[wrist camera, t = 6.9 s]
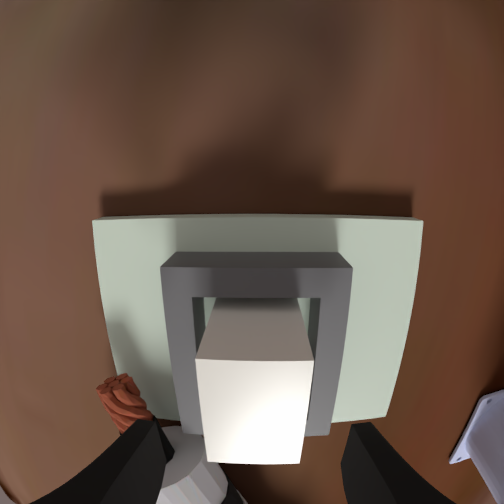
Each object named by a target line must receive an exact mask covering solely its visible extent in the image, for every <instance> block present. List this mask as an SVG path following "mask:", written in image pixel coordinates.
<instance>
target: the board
mask: <svg viewBox="0 0 504 504" xmlns="http://www.w3.org/2000/svg"><path fill="white" fill-rule="evenodd" d="M92 223H93V234H94V245H95V254H96V262H97V270H98V277H99V284H100V291H101V297H102V304H103V309H104V315H105V320H106V326H107V331H108V336H109V341H110V345H111V350H112V354H113V359H114V363H115V367H116V371H117V375H120V374H123V373H127V374H128V376H129V377H132V378H133V381H134V383H135V384H136V386H137V387H138V389H139V390H140V397H141V398H142V399H143V400H145V402H146V404H147V410H149V411H151V413H152V414H153V415H155V417H156V418H160V419H168V420H177V421H181V426H182V431H183V433H187V434H198V435H204V432H203V425H202V417H201V409H200V400H199V391H198V382H197V372H196V362H195V358H196V355H197V352H198V349H199V346H200V343H201V340H202V337H203V335H204V332H205V329H206V326H207V323H208V320H209V317H210V314H211V312H212V309H213V306H214V303H215V300H216V298H297V299H298V302H299V306H300V310H301V313H302V317H303V321H304V324H305V328H306V332H307V336H308V339H309V343H310V347H311V351H312V355H313V358H314V366H313V374H312V382H311V390H310V398H309V405H308V412H307V419H306V426H305V433H304V436H318V435H329V431H330V426H331V423H332V422H343V421H353V420H362V419H370V418H378V417H385V416H386V413H387V410H388V407H389V404H390V400H391V397H392V393H393V390H394V386H395V383H396V379H397V375H398V371H399V367H400V363H401V359H402V355H403V351H404V346H405V342H406V337H407V332H408V327H409V322H410V317H411V312H412V306H413V300H414V294H415V288H416V281H417V274H418V267H419V259H420V250H421V240H422V230H423V221H422V220H419V219H416V218H413V217H391V216H362V215H322V214H183V215H143V216H114V217H101V218H98V219H95V220H92Z"/></svg>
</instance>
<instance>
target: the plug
mask: <svg viewBox="0 0 504 504" xmlns="http://www.w3.org/2000/svg"><path fill="white" fill-rule="evenodd" d="M195 362H196V372H197V382H198V391H199V400H200V409H201V417H202V425H203V432H204V440H205V447H206V454H207V461H208V462H219V463H237V464H297V463H300V457H301V451H302V445H303V439H304V433H305V426H306V419H307V412H308V405H309V398H310V390H311V382H312V374H313V366H314V358H313V355H312V351H311V347H310V343H309V339H308V336H307V332H306V328H305V324H304V321H303V317H302V313H301V310H300V306H299V302H298V299H297V298H216V300H215V303H214V306H213V309H212V312H211V314H210V317H209V320H208V323H207V326H206V329H205V332H204V335H203V337H202V340H201V343H200V346H199V349H198V352H197V355H196V358H195Z"/></svg>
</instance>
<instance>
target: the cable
mask: <svg viewBox="0 0 504 504" xmlns="http://www.w3.org/2000/svg"><path fill="white" fill-rule="evenodd" d="M104 382H105V383H104V384H102V385H99V386H98V387H97V388H96V391H97V393H98V395H99V397H100V399H101V401H102V403H103V405H104V407H105V409H106V411H107V412H108V413H109V414H110V416H111V418H112V420H113V421H114V423H115V424H116V425H117V427H118V429H119V432H120V435H122V434H123V433H124V432H125V431H126V430H127V429H128V428H129V427H130V426H131V425H132V424H133V423H134V422H135V421H136V420H137V419H142V420H149V421H156V424H157V428H158V432H159V436H160V439H161V443H162V447H163V450H164V454H165V457H166V460H167V461H166V467H165V472H164V477H163V482H162V487H161V490H160V493H159V496H158V499H157V502H156V504H248V503H247V502H246V500H245V499H244V498H243V496H242V495H241V494H240V492H239V491H238V490H237V489H236V488H235V487H234V485H233V484H232V482H231V480H230V479H229V477H228V476H227V474H226V473H225V472H224V470H223V469H221V467H220V466H219V464H218V462H208V461H207V454H206V447H205V440H204V438H203V437H202V436H201V435H198V434H187V433H183V431H182V426H169V427H163V428H161V426H160V424H159V422H158V421H157V419H156V417H155V415H153V414H152V413H151V411H149V410H147V404H146V402H145V400H143V399H142V398H141V397H140V390H139V389H138V387H137V386H136V384H135V383H134V381H133V378H132V377H129V376H128V374H127V373H123V374H120V375H118V376H117V377H116V378H115V377H114V376H113V377H110V378H107V379H106V380H105V381H104Z"/></svg>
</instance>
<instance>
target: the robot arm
mask: <svg viewBox="0 0 504 504" xmlns="http://www.w3.org/2000/svg"><path fill="white" fill-rule="evenodd" d="M468 458H471V459H472V461H473V462H474V464H475V466H476V467H477V469H478V471H479V472H480V474H481V476H482V478H483V479H484V481H485V483H486V484H487V486H488V488H489V490H490V492H491V493H492V495H493V497H494V499H495V501H496V502H497V504H504V390H501V391H498V392H494V393H491V394H488V395H484V396H483V397H481V398H480V399H479V401H478V403H477V406H476V408H475V410H474V412H473V414H472V417H471V419H470V421H469V423H468V425H467V427H466V429H465V431H464V433H463V435H462V437H461V439H460V440H459V442H458V444H457V446H456V448H455V450H454V451H453V453H452V455H451V457H450V459H449V463H450V464H453V463H456V462H459V461H462V460H465V459H468ZM166 461H167V460H166V457H165V454H164V450H163V447H162V443H161V439H160V436H159V432H158V428H157V424H156V421H149V420H142V419H137V420H136V421H135V422H134V423H133V424H132V425H131V426H130V427H129V428H128V429H127V430H126V431H125V432H124V433H123V434H122V435H121V436H120V437H119V438H118V439H117V440H116V441H115V442H114V443H113V444H112V445H111V446H109V447H108V448H107V449H106V450H105V451H104V452H103V453H102V454H101V455H100V456H99V457H97V458H96V459H95V460H94V461H93V462H92V463H91V464H89V465H88V466H87V467H86V468H85V469H83V470H82V471H81V472H79V473H78V474H77V475H76V476H74V477H73V478H72V479H70V480H69V481H68V482H66V483H65V484H63V485H62V486H60V487H59V488H57V489H55V490H54V491H52V492H51V493H49V494H47V495H45V496H43V497H41V498H40V499H38V500H36V501H34V502H32V503H30V504H156V502H157V499H158V496H159V493H160V490H161V487H162V482H163V477H164V472H165V467H166ZM341 470H342V478H343V485H344V491H345V495H346V499H347V502H348V504H456V503H454V502H453V501H451V500H450V499H448V498H447V497H446V496H444V495H443V494H442V493H440V492H439V491H438V490H437V489H435V488H434V487H433V486H432V485H430V484H429V483H428V482H427V481H426V480H425V479H424V478H422V477H421V476H420V475H419V474H418V473H417V472H416V471H415V470H414V469H413V468H412V467H411V466H410V465H409V464H408V463H407V462H406V461H405V460H404V459H403V458H402V457H401V456H400V455H399V454H398V453H397V452H396V450H395V449H394V448H393V447H392V446H391V445H390V444H389V443H388V441H387V440H386V439H385V438H384V437H383V436H382V435H381V433H380V432H379V431H378V430H377V429H376V428H375V426H374V425H373V424H372V423H371V422H366V423H358V424H352V425H351V429H350V432H349V436H348V440H347V444H346V447H345V451H344V454H343V457H342V461H341Z"/></svg>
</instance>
